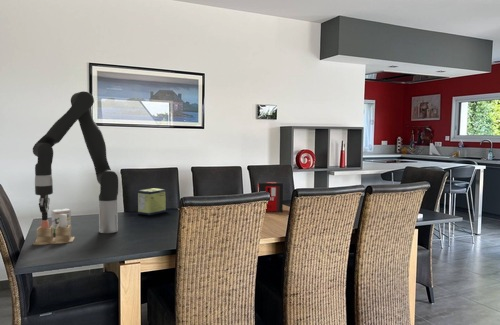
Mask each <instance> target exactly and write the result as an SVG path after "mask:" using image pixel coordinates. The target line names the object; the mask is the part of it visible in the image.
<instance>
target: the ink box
mask: <svg viewBox="0 0 500 325" xmlns="http://www.w3.org/2000/svg"><path fill="white" fill-rule="evenodd" d="M60 214H67V225H71V226H72V220H71V218H72V217H71V216H72V215H71V214H72V212H71V209H69V208H59V209H52V210H51V226H53V234H55V228H56V227H57V226H60V224H59V215H60Z"/></svg>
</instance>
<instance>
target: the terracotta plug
mask: <svg viewBox="0 0 500 325" xmlns="http://www.w3.org/2000/svg"><path fill="white" fill-rule="evenodd" d="M49 226H50V222H49V219H47V220H44V221H43V220H41V221H40V227H41V229H48V228H49Z"/></svg>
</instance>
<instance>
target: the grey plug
mask: <svg viewBox="0 0 500 325" xmlns="http://www.w3.org/2000/svg"><path fill="white" fill-rule="evenodd" d="M59 224H60V228H67V214H60V215H59Z"/></svg>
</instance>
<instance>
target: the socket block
mask: <svg viewBox="0 0 500 325" xmlns="http://www.w3.org/2000/svg"><path fill="white" fill-rule="evenodd" d="M54 235H55V237H54ZM75 239H76V237H75V236H72V224H71V225H67V228H60V226H57V227H56V228H55V233H53V226H52V225H49V228H48V229H41V226H38V228H37V229H36V240H35V241H34V242H33V243H32V246H39V245H40V246H42V245H54V244H55V245H57V244H73V242H74V240H75Z"/></svg>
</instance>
